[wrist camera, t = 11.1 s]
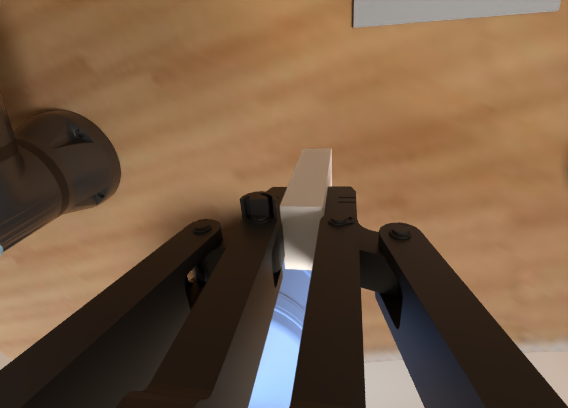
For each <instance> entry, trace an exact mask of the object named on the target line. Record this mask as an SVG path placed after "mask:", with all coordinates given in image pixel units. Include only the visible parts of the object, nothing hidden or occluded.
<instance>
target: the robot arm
mask: <svg viewBox="0 0 568 408" xmlns="http://www.w3.org/2000/svg"><path fill="white" fill-rule="evenodd" d="M120 177H121V170H120V164H119V160H118V157H117V154H116V152H115V150H114V148H113V146H112V144H111V143H110V141H109V140H108V138H107V137H106V136H105V135H104V133H103V132H102V131H101V130H100V129H99V128H98V127H97V126H95V125H94V124H93V123H92V122H90V121H89V120H87V119H86V118H84V117H82V116H80V115H78V114H76V113H73V112H69V111H64V110H53V111H49V112H45V113H41V114H38V115H35V116H33V117H31V118H29V119H28V120H27V121H26V122H24V123H23V124H22V125H21V126H20V127H18V128H17V129H16V130H15V131H14V132H13V131H12V128H11V124H10V121H9V118H8V115H7V112H6V109H5V105H4V102H3V99H2V96H1V93H0V255H1V254H2V253H3V252H4V251H6V250H7V249H9V248H10V247H12V246H14V245H15V244H17V243H18V242H20V241H21V240H23V239H24V238H26V237H28V236H29V235H31V234H32V233H34V232H35V231H37V230H38V229H40V228H42V227H43V226H45V225H46V224H48V223H49V222H51V221H52V220H54V219H55V218H57V217H59V216H60V215H62V214H66V213H70V212H75V211H79V210H84V209H88V208H92V207H95V206H97V205H99V204H101V203H103V202H104V201H106V200H107V199H108V198H110V197H111V196H112V195H113V194H114V193H115V192H116V190H117V188H118V186H119V183H120ZM240 204H241V211H242V217H243V219H242V221H241V223H240V225H239V226H238V227H235V228H230V229H223V230H221V225H220V223H219V222H218V221H216V220H211V219H202V220H198V221H196V222H193V223H191V224H189V225H188V226H186V227H185V228H184V229H183V230H181V231H180V232H179V233H177V234H176V235H175V236H173V237H172V238H171V239H170V240H168V241H167V242H166V243H164V244H163V245H162V246H160V247H159V248H158V249H157V250H155V251H154V252H153V253H151V254H150V255H149V256H148V257H146V258H145V259H144V260H142V261H141V262H140V263H138V264H137V265H136V266H135V267H133V268H132V269H131V270H129V271H128V272H127V273H126V274H124V275H123V276H122V277H120V278H119V279H118V280H116V281H115V282H114V283H113V284H111V285H110V286H109V287H107V288H106V289H105V290H103V291H102V292H101V293H100V294H98V295H97V296H96V297H94V298H93V299H92V300H91V301H89V302H88V303H87V304H85V305H84V306H83V307H81V308H80V309H79V310H78V311H76V312H75V313H74V314H72V315H71V316H70V317H69V318H67V319H66V320H65V321H63V322H62V323H61V324H59V325H58V326H57V327H56V328H54V329H53V330H52V331H50V332H49V333H48V334H47V335H45V336H44V337H43V338H41V339H40V340H39V341H37V342H36V343H35V344H34V345H32V346H31V347H30V348H28V349H27V350H26V351H24V352H23V353H22V354H21V355H19V356H18V357H17V358H15V359H14V360H13V361H12V362H10V363H9V364H8V365H6V366H5V367H4V368H3V369H1V370H0V408H248V406H249V402H250V399H251V395H252V391H253V387H254V384H255V380H256V376H257V372H258V369H259V365H260V361H261V357H262V354H263V350H264V346H265V342H266V339H267V335H268V331H269V327H270V324H271V320H272V316H273V312H274V309H275V305H276V301H277V297H278V294H279V290H280V286H281V282H282V279H283V271H282V264H283V261H284V262H285V269H296V270H312V273H311V279H310V285H309V291H308V297H307V303H306V310H305V316H304V322H303V328H302V334H301V341H300V347H299V353H298V359H297V365H296V372H295V378H294V384H293V390H292V396H291V402H290V407H289V408H366V405H365V379H364V355H363V331H362V306H361V287H362V288H365V289H369V290H372V291H375V297H376V300H377V302H378V304H379V306H380V309H381V311H382V313H383V315H384V318H385V320H386V322H387V324H388V327H389V329H390V331H391V333H392V336H393V338H394V340H395V342H396V344H397V347H398V349H399V351H400V353H401V356H402V358H403V360H404V362H405V365H406V367H407V369H408V371H409V374H410V376H411V378H412V380H413V382H414V385H415V387H416V389H417V391H418V393H419V396H420V398H421V400H422V402H423V405H424V407H425V408H568V406H567V405H566V404H565V403H564V402H563V400H562V399H561V398H560V397H559V396H558V394H557V393H556V392H555V391H554V390H553V388H552V387H551V386H550V385H549V384H548V383H547V381H546V380H545V379H544V378H543V377H542V375H541V374H540V373H539V372H538V371H537V369H536V368H535V367H534V366H533V365H532V363H531V362H530V361H529V360H528V359H527V357H526V356H525V355H524V354H523V353H522V351H521V350H520V349H519V348H518V347H517V345H516V344H515V343H514V342H513V341H512V340H511V338H510V337H509V336H508V335H507V334H506V332H505V331H504V330H503V329H502V328H501V326H500V325H499V324H498V323H497V322H496V320H495V319H494V318H493V317H492V316H491V314H490V313H489V312H488V311H487V310H486V308H485V307H484V306H483V305H482V304H481V303H480V301H479V300H478V299H477V298H476V297H475V295H474V294H473V293H472V292H471V291H470V289H469V288H468V287H467V286H466V285H465V283H464V282H463V281H462V280H461V279H460V277H459V276H458V275H457V274H456V273H455V272H454V270H453V269H452V268H451V267H450V266H449V264H448V263H447V262H446V261H445V260H444V258H443V257H442V256H441V255H440V254H439V252H438V251H437V250H436V249H435V248H434V246H433V245H432V244H431V243H430V242H429V241H428V239H427V238H426V237H425V236H424V235H423V233H422V232H421V231H420V230H419V229H417V228H416V227H414V226H412V225H409V224H406V223H390V224H386V225H384V226H382V227H381V228H380V230H379V232H376V231H372V230H368V229H366V228H364V227H362V226H361V225H360V224H359V223H358V220H357V209H356V191H355V190H354V189H353V188H352V187H333V186H332V148H321V149H302V152H301V154H300V157H299V159H298V162H297V164H296V167H295V169H294V172H293V174H292V177H291V179H290V182H289V184H288V187H272V188H270V189H269V190H268V191H266V192H263V191H260V192H252V193H248V194H246V195H244V196H242V197H241V198H240ZM191 270H193V274H194V277H193V278H192V279H191V280H190V281H189V280H188V278H187V275H188V273H189V272H190V271H191Z"/></svg>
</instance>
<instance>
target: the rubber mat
mask: <svg viewBox="0 0 568 408" xmlns="http://www.w3.org/2000/svg"><path fill="white" fill-rule="evenodd" d="M560 2H561V0H354V22H353V28H357V27H369V26H381V25H393V24H405V23H418V22H430V21H442V20H454V19H466V18H478V17H490V16H502V15H514V14H526V13H539V12H551V11H558V10H559V6H560Z"/></svg>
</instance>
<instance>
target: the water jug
mask: <svg viewBox="0 0 568 408" xmlns="http://www.w3.org/2000/svg"><path fill="white" fill-rule="evenodd" d="M282 271H283V279H282V282H281V286H280V290H279V294H278V297H277V301H276V305H275V309H274V312H273V316H272V320H271V324H270V327H269V331H268V335H267V339H266V342H265V346H264V350H263V354H262V357H261V361H260V365H259V369H258V372H257V376H256V380H255V384H254V387H253V391H252V395H251V399H250V402H249V406H248V408H287V407H290V402H291V396H292V390H293V384H294V378H295V372H296V365H297V359H298V353H299V347H300V341H301V334H302V328H303V322H304V316H305V310H306V303H307V297H308V291H309V285H310V279H311V273H312V270H296V269H285V262H284V261H283V264H282Z"/></svg>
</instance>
